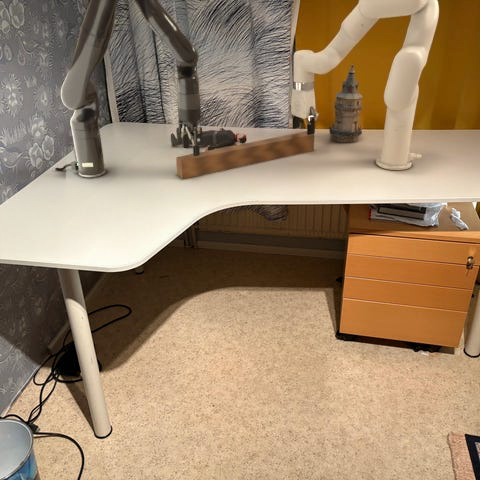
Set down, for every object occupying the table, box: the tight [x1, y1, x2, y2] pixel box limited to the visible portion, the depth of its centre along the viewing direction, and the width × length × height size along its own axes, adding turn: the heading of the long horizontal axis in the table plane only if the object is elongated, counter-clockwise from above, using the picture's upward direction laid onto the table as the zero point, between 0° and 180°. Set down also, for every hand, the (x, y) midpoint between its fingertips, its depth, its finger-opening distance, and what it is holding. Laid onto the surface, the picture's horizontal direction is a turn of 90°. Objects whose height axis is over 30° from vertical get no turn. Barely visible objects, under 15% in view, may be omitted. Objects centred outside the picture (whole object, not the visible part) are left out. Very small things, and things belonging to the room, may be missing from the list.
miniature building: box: [328, 63, 363, 143], centre depth 214 cm, size 13×14×30 cm
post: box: [175, 130, 315, 180], centre depth 198 cm, size 56×5×7 cm, turn 119°
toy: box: [170, 127, 248, 151], centre depth 215 cm, size 26×6×30 cm
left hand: (191, 151), depth 187 cm, fingers open, 8 cm apart
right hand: (303, 131), depth 206 cm, fingers open, 9 cm apart
